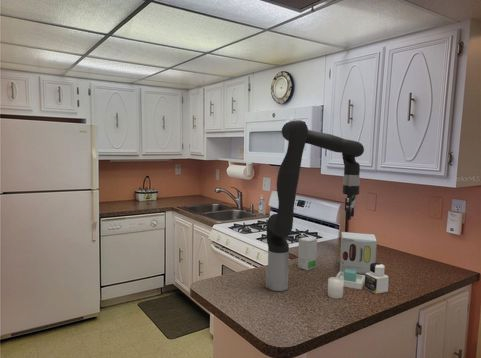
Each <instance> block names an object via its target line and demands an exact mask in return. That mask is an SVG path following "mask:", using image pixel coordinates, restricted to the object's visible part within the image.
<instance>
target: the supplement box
mask: <svg viewBox="0 0 481 358" xmlns="http://www.w3.org/2000/svg"><path fill="white" fill-rule="evenodd" d="M340 238H341V239H340V251H339V252H340V255H339V272H340V271H341V272H344V271H345V269H351V270H357V274H360V275H365V273H370V264H371V263H377V260H376V258H377V245H378V244H377V241H378V240H377V238H376V236H375V234H372V233H361V232H360V233H359V232H349V231H348V232H347V231H341V237H340Z"/></svg>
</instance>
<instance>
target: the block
mask: <svg viewBox="0 0 481 358" xmlns="http://www.w3.org/2000/svg"><path fill="white" fill-rule="evenodd" d="M343 272H344V280H345V281H351V282H356V275H357V274H358V273H357V270H351V269H345V271H343Z"/></svg>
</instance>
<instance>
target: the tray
mask: <svg viewBox="0 0 481 358" xmlns="http://www.w3.org/2000/svg"><path fill="white" fill-rule="evenodd" d="M335 277H338V278H341V279H343V280H344V271H340V270H339V271H338V273H337V274H336V276H335ZM364 285H365V274H360V273H357V275H356V282H351V281H345V280H344V285H343V288H344V287H345V288H351V289H354V290H355V289H357V290H362V289H363V286H364Z"/></svg>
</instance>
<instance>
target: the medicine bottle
mask: <svg viewBox="0 0 481 358" xmlns="http://www.w3.org/2000/svg"><path fill="white" fill-rule="evenodd" d="M385 268H386V266H385V265H384V264H382V263H380V262H375V263H371V264H370V273H365V274H364V275H365V282H364V289H366V290H367V291H369V292H371V293H373V294H382V293H388V291H389V276H388V275H387V274H385Z"/></svg>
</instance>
